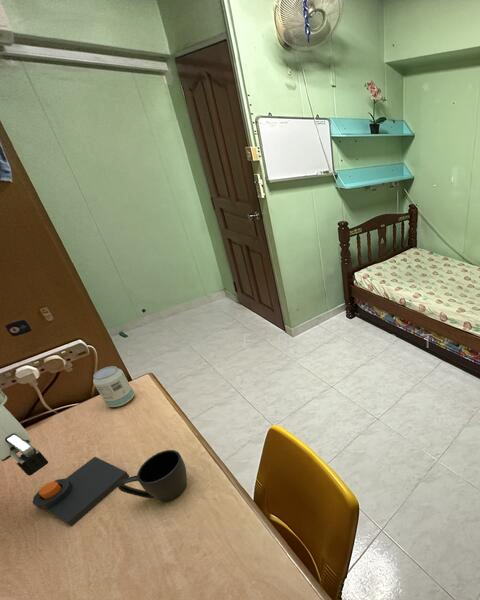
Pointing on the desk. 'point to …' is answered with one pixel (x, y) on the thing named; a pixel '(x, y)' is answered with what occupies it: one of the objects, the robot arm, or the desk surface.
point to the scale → (82, 490)
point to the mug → (159, 477)
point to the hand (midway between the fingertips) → (25, 461)
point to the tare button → (49, 490)
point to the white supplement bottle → (113, 386)
